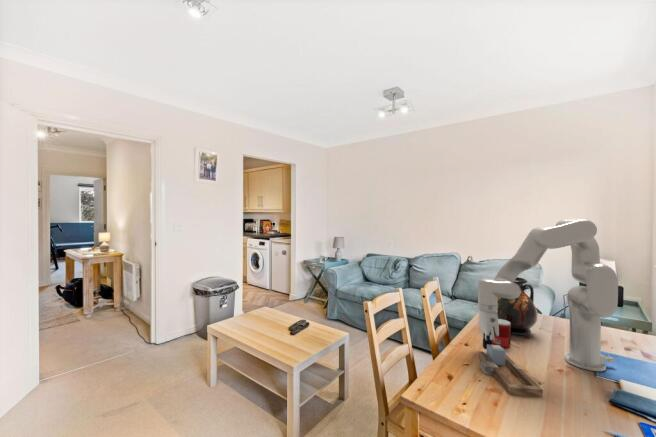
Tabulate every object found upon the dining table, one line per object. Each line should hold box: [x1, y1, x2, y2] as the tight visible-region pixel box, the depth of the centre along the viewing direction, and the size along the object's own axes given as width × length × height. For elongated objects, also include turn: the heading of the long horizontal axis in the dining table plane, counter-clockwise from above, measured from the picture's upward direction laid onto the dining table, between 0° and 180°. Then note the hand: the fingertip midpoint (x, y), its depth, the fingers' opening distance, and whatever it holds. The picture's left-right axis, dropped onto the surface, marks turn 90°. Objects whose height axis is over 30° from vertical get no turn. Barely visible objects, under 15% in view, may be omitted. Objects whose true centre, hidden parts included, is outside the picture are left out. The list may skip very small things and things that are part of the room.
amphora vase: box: [497, 276, 538, 338], centre depth 148 cm, size 22×22×28 cm
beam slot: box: [478, 350, 544, 398], centre depth 107 cm, size 13×26×3 cm, turn 173°
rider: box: [486, 344, 506, 366], centre depth 116 cm, size 5×5×6 cm
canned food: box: [492, 319, 512, 349], centre depth 132 cm, size 8×8×11 cm
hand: (487, 348), depth 123 cm, fingers closed
